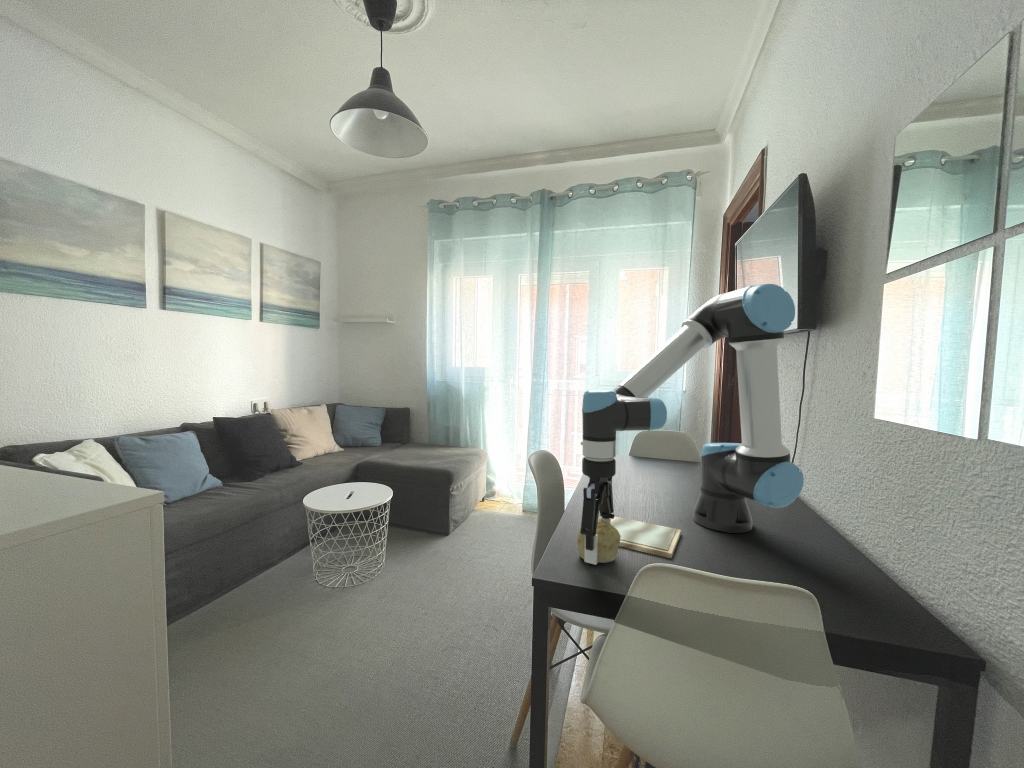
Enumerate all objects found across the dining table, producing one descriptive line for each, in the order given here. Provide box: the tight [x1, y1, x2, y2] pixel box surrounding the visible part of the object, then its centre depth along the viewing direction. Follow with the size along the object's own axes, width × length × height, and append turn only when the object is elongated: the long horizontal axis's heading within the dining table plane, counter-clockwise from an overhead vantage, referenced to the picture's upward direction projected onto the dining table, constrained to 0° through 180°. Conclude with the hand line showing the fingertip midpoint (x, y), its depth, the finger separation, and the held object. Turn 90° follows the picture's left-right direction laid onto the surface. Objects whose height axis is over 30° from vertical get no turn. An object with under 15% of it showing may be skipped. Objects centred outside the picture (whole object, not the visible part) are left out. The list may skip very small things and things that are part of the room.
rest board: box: [610, 515, 682, 559], centre depth 104 cm, size 18×16×1 cm
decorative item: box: [576, 519, 621, 564], centre depth 92 cm, size 10×10×10 cm
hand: (598, 553), depth 93 cm, fingers closed on decorative item, 9 cm apart
